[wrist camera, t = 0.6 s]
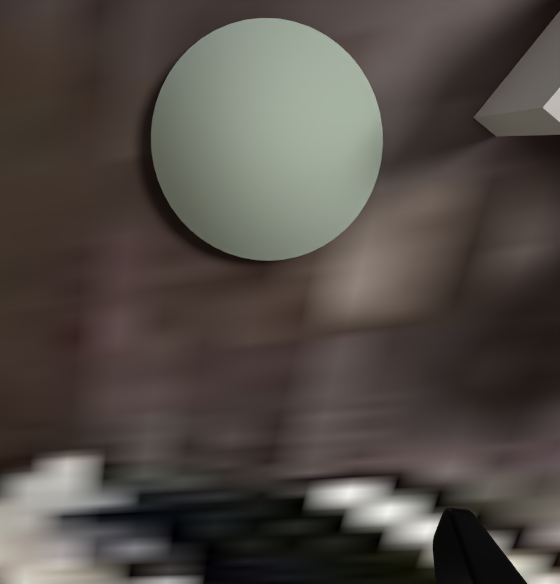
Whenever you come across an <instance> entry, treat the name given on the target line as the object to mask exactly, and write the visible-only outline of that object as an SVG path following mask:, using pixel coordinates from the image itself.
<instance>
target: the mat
mask: <svg viewBox="0 0 560 584" xmlns="http://www.w3.org/2000/svg"><path fill="white" fill-rule="evenodd" d="M382 149H383V130H382V123H381V116H380V111H379V108H378V104H377V101H376V97H375V95H374V93H373V91H372V88H371V86H370V84H369V82H368V80H367V78H366V77H365V75H364V73H363V72H362V70H361V68H360V67H359V66H358V65H357V63H356V62H355V61H354V60H353V58H352V57H351V56H350V55H349V54H348V53H347V52H346V51H345V50H344V49H343V48H342V47H341V46H340V45H338V44H337V43H336V42H334V41H333V40H332V39H330V38H329V37H327V36H326V35H324V34H323V33H321V32H319V31H317V30H315V29H313V28H311V27H308V26H305V25H303V24H300V23H297V22H293V21H288V20H283V19H273V18H258V19H249V20H243V21H240V22H236V23H232V24H229V25H227V26H224V27H222V28H219V29H217V30H215V31H213V32H212V33H210V34H208V35H207V36H205V37H203V38H202V39H200V40H199V41H198V42H197V43H195V44H194V45H193V46H192V47H191V48H189V49H188V50H187V51H186V53H185V54H184V55H183V56H182V57H181V58H180V59H179V60H178V61H177V63H176V64H175V66H174V67H173V68H172V70H171V71H170V73H169V74H168V76H167V78H166V80H165V82H164V84H163V86H162V88H161V90H160V93H159V96H158V98H157V101H156V105H155V109H154V113H153V118H152V128H151V151H152V158H153V164H154V168H155V172H156V175H157V179H158V182H159V184H160V186H161V189H162V191H163V194H164V196H165V197H166V199H167V201H168V203H169V204H170V206H171V208H172V209H173V210H174V212H175V213H176V214H177V216H178V217H179V218H180V220H181V221H182V222H183V223H184V224H185V225H186V226H187V227H188V228H189V229H190V230H191V231H192V232H193V233H195V234H196V235H197V236H198V237H200V238H201V239H202V240H204V241H205V242H207V243H209V244H210V245H212V246H213V247H215V248H217V249H220V250H222V251H224V252H226V253H229V254H232V255H235V256H238V257H242V258H247V259H252V260H265V261H272V260H284V259H289V258H294V257H298V256H301V255H304V254H307V253H310V252H312V251H314V250H316V249H318V248H320V247H322V246H324V245H325V244H327V243H328V242H330V241H331V240H333V239H334V238H336V237H337V236H338V235H339V234H340V233H342V232H343V231H344V230H345V229H346V228H347V227H348V226H349V225H350V224H351V223H352V222H353V221H354V219H355V218H356V217H357V216H358V214H359V213H360V211H361V210H362V209H363V207H364V206H365V204H366V202H367V200H368V198H369V196H370V195H371V193H372V191H373V188H374V185H375V182H376V180H377V177H378V173H379V169H380V164H381V159H382Z"/></svg>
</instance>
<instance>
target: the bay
mask: <svg viewBox="0 0 560 584" xmlns="http://www.w3.org/2000/svg"><path fill="white" fill-rule="evenodd" d="M473 118H474V119H476V120H477V121H478V122H479V123H480V124H482V125H483V126H484V127H485V128H487V129H488V130H489V131H490V132H491V133H493V134H494V135H495V136H531V135H560V11H559V12H558V14H557V15H556V16H555V17H554V19H553V20H552V21H551V22H550V24H549V25H548V26H547V27H546V28H545V30H544V31H543V32H542V33H541V35H540V36H539V37H538V38H537V40H536V41H535V42H534V43H533V45H532V46H531V47H530V48H529V49H528V51H527V52H526V53H525V54H524V56H523V57H522V58H521V59H520V61H519V62H518V63H517V64H516V66H515V67H514V68H513V69H512V70H511V72H510V73H509V74H508V75H507V77H506V78H505V79H504V80H503V82H502V83H501V84H500V85H499V86H498V88H497V89H496V90H495V91H494V93H493V94H492V95H491V96H490V98H489V99H488V100H487V101H486V103H485V104H484V105H483V106H482V107H481V109H480V110H479V111H478V112H477V114H476V115H475V116H474V117H473Z"/></svg>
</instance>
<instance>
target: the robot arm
mask: <svg viewBox="0 0 560 584" xmlns="http://www.w3.org/2000/svg"><path fill="white" fill-rule="evenodd" d="M433 556H434V567H435V577H436V584H527V583H526V581H525V580H524V579H523V577H522V576H521V575H520V574H519V572H518V571H517V570H516V568H515V567H514V566H513V564H512V563H511V562H510V561H509V559H508V558H507V557H506V555H505V554H504V553H503V551H502V550H501V549H500V548H499V546H498V545H497V544H496V542H495V541H494V540H493V538H492V537H491V536H490V535H489V533H488V532H487V531H486V529H485V528H484V527H483V525H482V524H481V523H480V522H479V520H478V519H477V518H476V516H475V515H474V514H473V513H472V512H471V511H469V510H466V509H458V508H446V509H445V510H444V512H443V514H442V516H441V519H440V522H439V524H438V527H437V529H436V532H435V535H434V539H433Z"/></svg>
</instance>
